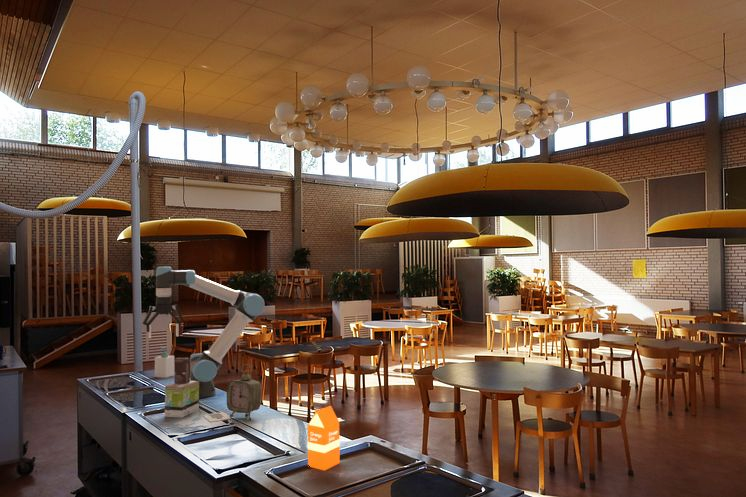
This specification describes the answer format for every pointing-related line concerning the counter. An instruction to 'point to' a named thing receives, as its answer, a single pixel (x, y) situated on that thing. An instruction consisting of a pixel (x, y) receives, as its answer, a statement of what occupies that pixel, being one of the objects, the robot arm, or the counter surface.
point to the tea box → (181, 399)
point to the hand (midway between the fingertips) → (163, 337)
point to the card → (217, 417)
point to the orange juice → (323, 439)
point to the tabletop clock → (244, 394)
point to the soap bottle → (164, 365)
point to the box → (182, 370)
